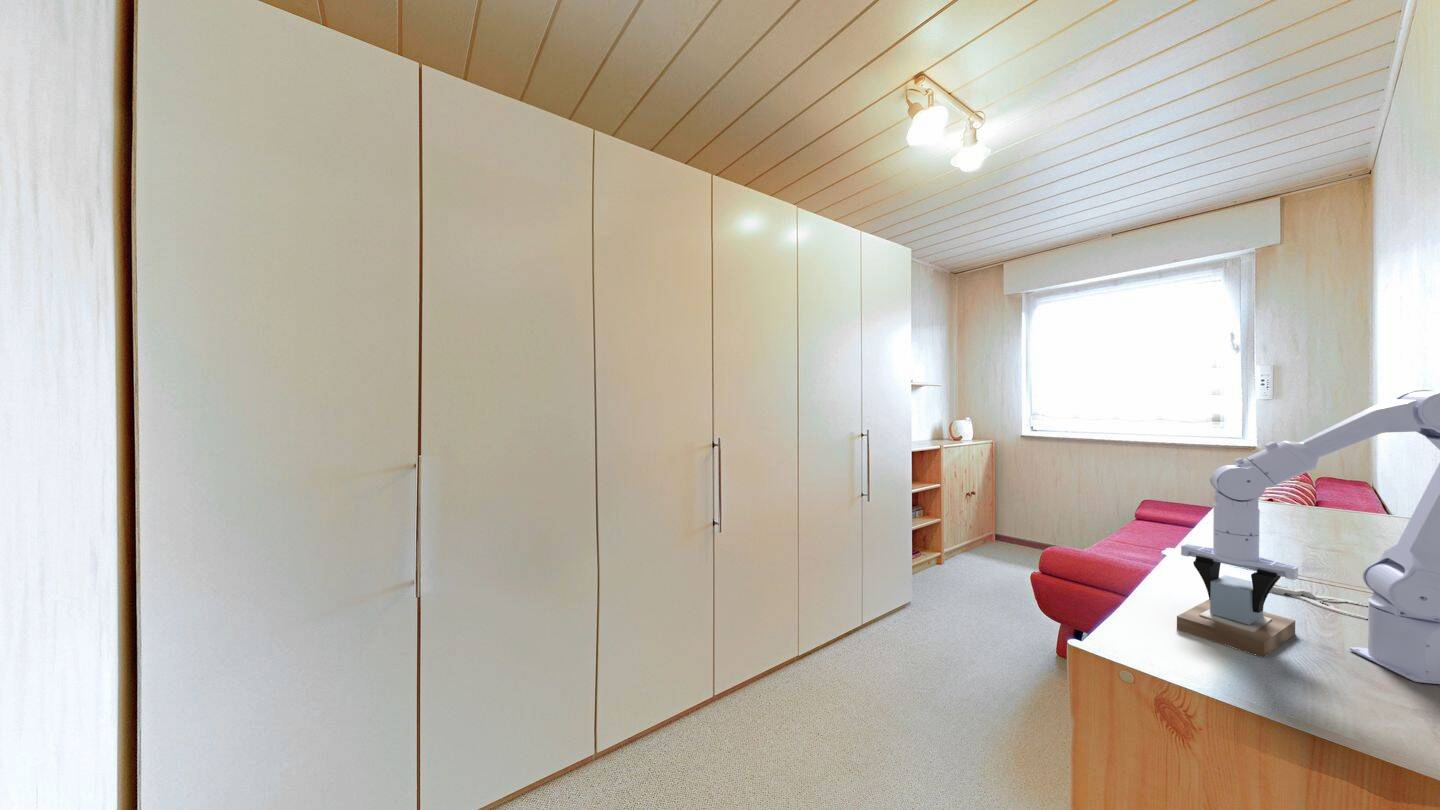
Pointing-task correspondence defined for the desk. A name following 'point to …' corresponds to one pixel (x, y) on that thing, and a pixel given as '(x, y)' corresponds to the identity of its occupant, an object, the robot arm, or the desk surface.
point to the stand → (1237, 629)
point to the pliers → (1296, 593)
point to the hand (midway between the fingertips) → (1235, 605)
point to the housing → (1233, 599)
